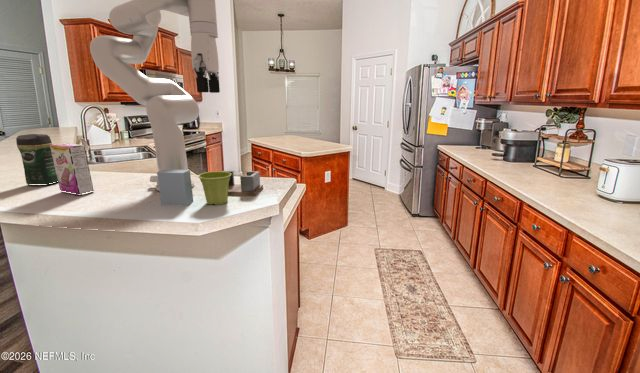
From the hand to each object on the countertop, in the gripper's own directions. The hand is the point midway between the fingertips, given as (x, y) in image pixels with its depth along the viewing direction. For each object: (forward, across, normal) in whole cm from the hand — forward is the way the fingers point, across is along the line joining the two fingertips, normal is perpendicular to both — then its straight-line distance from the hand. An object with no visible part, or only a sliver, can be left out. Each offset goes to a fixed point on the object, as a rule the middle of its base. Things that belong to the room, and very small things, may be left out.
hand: (209, 92), depth 99 cm
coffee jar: (+33, -12, -70) cm, 78 cm away
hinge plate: (+32, -3, +6) cm, 33 cm away
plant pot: (+32, +9, +3) cm, 34 cm away
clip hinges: (+31, -3, +6) cm, 32 cm away
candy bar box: (+33, -1, -48) cm, 59 cm away
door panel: (+32, +10, -9) cm, 35 cm away
